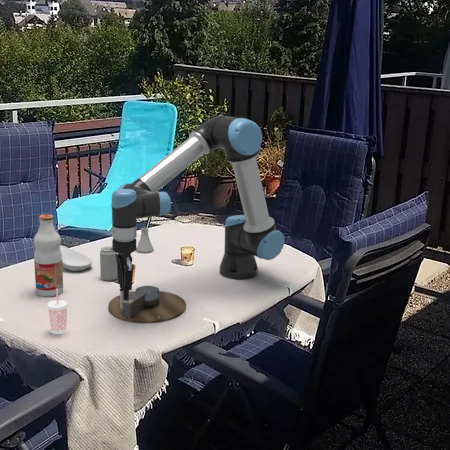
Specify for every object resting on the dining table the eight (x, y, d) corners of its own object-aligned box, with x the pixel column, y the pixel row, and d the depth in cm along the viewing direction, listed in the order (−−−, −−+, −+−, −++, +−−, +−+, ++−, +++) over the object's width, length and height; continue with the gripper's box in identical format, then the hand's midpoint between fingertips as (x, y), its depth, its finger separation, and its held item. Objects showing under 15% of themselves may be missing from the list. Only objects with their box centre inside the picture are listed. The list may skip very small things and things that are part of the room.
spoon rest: (98, 268, 249) (98, 251, 247) (75, 276, 240) (75, 258, 238) (59, 256, 262) (58, 239, 260) (35, 263, 253) (35, 246, 251)
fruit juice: (68, 292, 223) (65, 216, 216) (44, 299, 217) (40, 220, 209) (55, 285, 230) (51, 211, 222) (31, 291, 224) (26, 215, 216)
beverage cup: (44, 333, 192) (42, 290, 188) (56, 325, 197) (54, 283, 193) (61, 336, 190) (59, 293, 186) (73, 328, 195) (71, 286, 191)
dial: (143, 297, 218) (143, 282, 216) (163, 301, 215) (163, 286, 213) (116, 315, 203) (116, 299, 201) (137, 320, 200) (137, 303, 198)
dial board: (170, 289, 230) (170, 285, 230) (197, 316, 207) (197, 312, 207) (99, 298, 219) (99, 295, 219) (120, 328, 196) (120, 324, 196)
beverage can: (114, 282, 235) (113, 251, 231) (97, 280, 236) (97, 250, 232) (120, 276, 241) (119, 246, 237) (104, 275, 242) (103, 245, 238)
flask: (144, 247, 277) (144, 225, 274) (156, 250, 273) (156, 228, 270) (132, 251, 271) (132, 228, 268) (145, 254, 267) (145, 232, 264)
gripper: (107, 233, 202) (108, 301, 209) (118, 245, 191) (119, 317, 198) (130, 231, 205) (130, 298, 212) (142, 243, 194) (142, 313, 201)
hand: (125, 307), depth 205 cm, fingers closed
